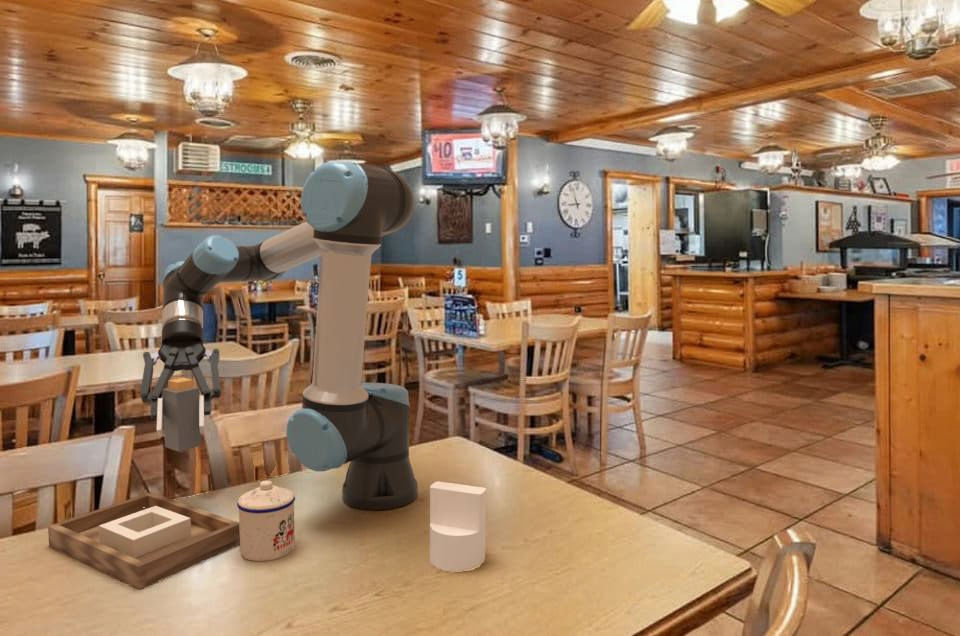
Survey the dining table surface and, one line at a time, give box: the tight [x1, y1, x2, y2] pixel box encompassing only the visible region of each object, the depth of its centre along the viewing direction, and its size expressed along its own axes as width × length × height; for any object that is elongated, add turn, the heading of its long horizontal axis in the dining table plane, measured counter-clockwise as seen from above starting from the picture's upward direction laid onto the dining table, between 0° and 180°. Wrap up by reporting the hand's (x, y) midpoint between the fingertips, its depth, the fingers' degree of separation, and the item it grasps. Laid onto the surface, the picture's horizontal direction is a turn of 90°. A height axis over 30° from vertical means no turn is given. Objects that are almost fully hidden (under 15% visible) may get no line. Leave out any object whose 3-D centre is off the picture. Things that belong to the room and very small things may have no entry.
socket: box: [99, 506, 191, 558], centre depth 109 cm, size 10×10×3 cm
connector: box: [162, 377, 202, 453], centre depth 120 cm, size 4×4×13 cm
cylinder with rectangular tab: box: [429, 480, 487, 573], centre depth 105 cm, size 9×9×12 cm
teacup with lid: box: [236, 480, 296, 562], centre depth 109 cm, size 12×9×12 cm
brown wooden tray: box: [47, 491, 240, 591], centre depth 109 cm, size 26×18×4 cm
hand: (181, 431), depth 117 cm, fingers closed on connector, 6 cm apart
